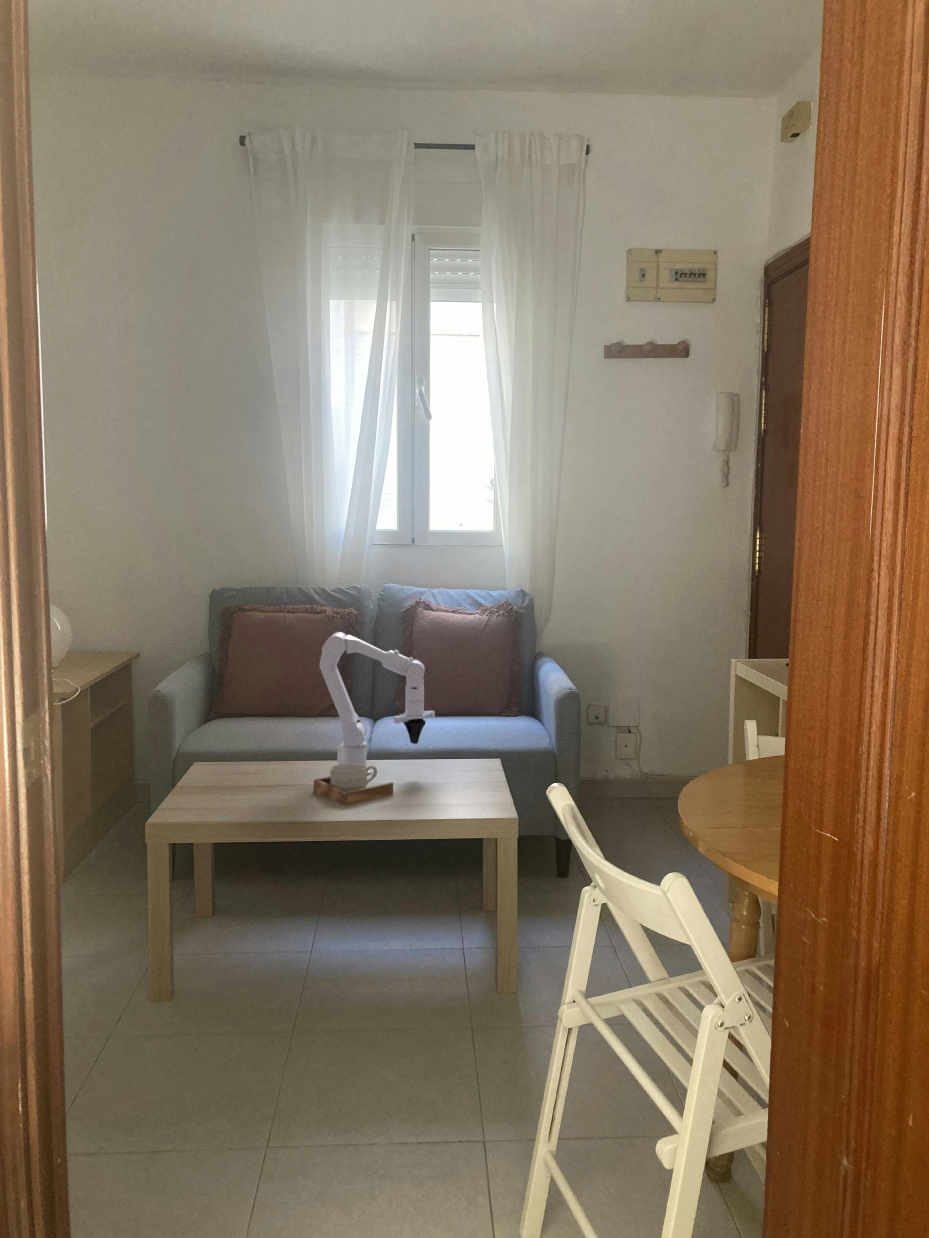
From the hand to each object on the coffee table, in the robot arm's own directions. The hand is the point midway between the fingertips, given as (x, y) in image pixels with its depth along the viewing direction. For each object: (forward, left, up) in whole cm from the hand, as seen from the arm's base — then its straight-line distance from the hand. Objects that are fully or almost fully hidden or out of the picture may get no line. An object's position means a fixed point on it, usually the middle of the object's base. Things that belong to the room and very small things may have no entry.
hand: (414, 742), depth 292 cm
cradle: (+5, -25, -10) cm, 27 cm away
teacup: (+5, -25, -10) cm, 28 cm away
